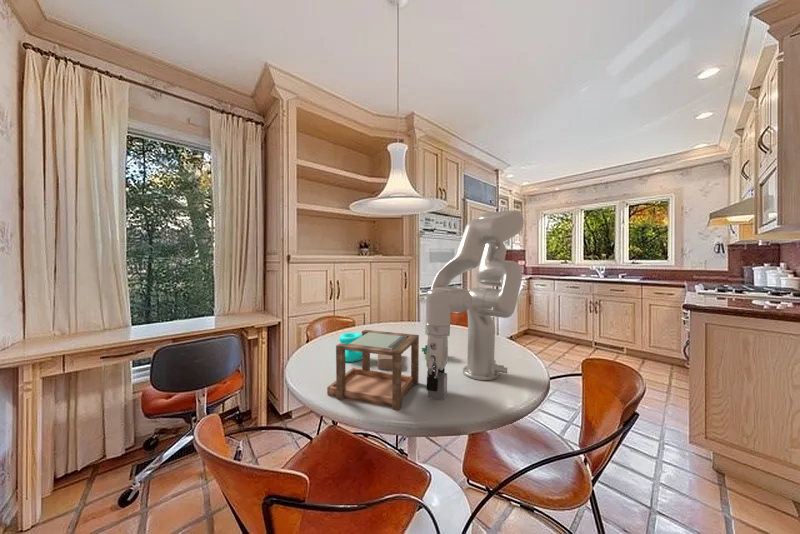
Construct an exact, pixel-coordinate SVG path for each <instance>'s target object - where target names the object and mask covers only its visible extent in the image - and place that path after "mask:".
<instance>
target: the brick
mask: <svg viewBox="0 0 800 534" xmlns="http://www.w3.org/2000/svg"><path fill="white" fill-rule="evenodd" d="M376 360H377V366H376V368H377V370H392V356H390V355H382V354H377V359H376Z"/></svg>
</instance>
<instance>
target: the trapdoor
mask: <svg viewBox="0 0 800 534" xmlns="http://www.w3.org/2000/svg"><path fill="white" fill-rule="evenodd" d="M406 339H407V336H399V335H389V334H380V333H370V332H368V333H367V334H365V335H363V336H361V337H360V338H358V339H356V340H355V341H353V342H351V343H349V344H351V345H359V346H368V347H376V348H385V349H393V350H394V349H395V348H397V347H398V346H399V345H400V344H401V343H402V342H404V341H405V340H406Z"/></svg>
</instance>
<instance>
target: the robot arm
mask: <svg viewBox="0 0 800 534" xmlns="http://www.w3.org/2000/svg"><path fill="white" fill-rule="evenodd" d="M524 221H525V220H524V216H523V214H522V213H521V212H520V211H518V210H513V209H512V210H501V211H491V212H485V213H481V214H480V215H479V216H478V217H477V218H476V219H472V220H470V221H469V222H468V221H467V222H468V223H467V224H466V225H465V227H464V230H463V233H462V235H461V238H460V242H459V244H458V247H457V250H456V252H455V255H454V257H452V258H451V259H450V260H449V261H447V263H446V264H444V266H442V267H441V269H440V270H439V271H438V272H437V273H436V275H435V276H434V279H433V282H432V284H431V287H430V289H428V290H427V292H426V295H425V296H426V298H425V301H426V302H425V303H426V304H425V328H424V329H425V330H424V331H425V335H426V336H427V341H426V343H427V344H426V345H427V358H425V360H426V368H427V371H426V372H427V373H426V390H427V391H428V390H429V391H435V392H437V390H438V378H437V373H438V372H442V373H446V371H445V370H446V369H445V367H446V366H447V364H448V363H449V362H448V361H449V340H448V339H449V338H448V337H450V334H451V313H463V312H466V313H467V362H466V363H467V365H466V366H464V367H463V368H462V373H463V374H464V375H465V376H466V377H468V378H470V379H474V380H478V381H492V380H496V379H498V377H499V373H503V374H508V367H505V365H504V364H503V365H502V364H501V365H500V364H498V363H496V360H495V350H496V348H495V346H496V345H495V343H496V342H495V341H496V339H495V338H496V325H495V322H494V320H493V317H496V318H502V319H507V318H510V317H511V316H513V314H514V312H515V309H516V306H517V303H518V302H517V301H518V298H519V294H520V289H521V284H522V279H523V271H522V267H521V265H520V264H519V263H518V262H516V261H514V260H505V259H506V255H507V248H506V245H505V243H504V242H506V241H508V240H510V239H512V238H513V237H516V236H517V235H518V234H520V232H521V231H522V229H523V227H524ZM475 268H477V270H476V280H477V282H478V283H479V284H480V285H483V286H490V287H499V288H500V289H498V288H490V287H482V286H477V287H473V288H471V289H469V290H467V289H465V288H460V287H452V286H450V284H451V282H452V281H453V280H454V279H455V278H456V277H458V276H459V275H461V274H464V273H466V272H470V271H472V270H474V269H475ZM434 371H435V372H434Z"/></svg>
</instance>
